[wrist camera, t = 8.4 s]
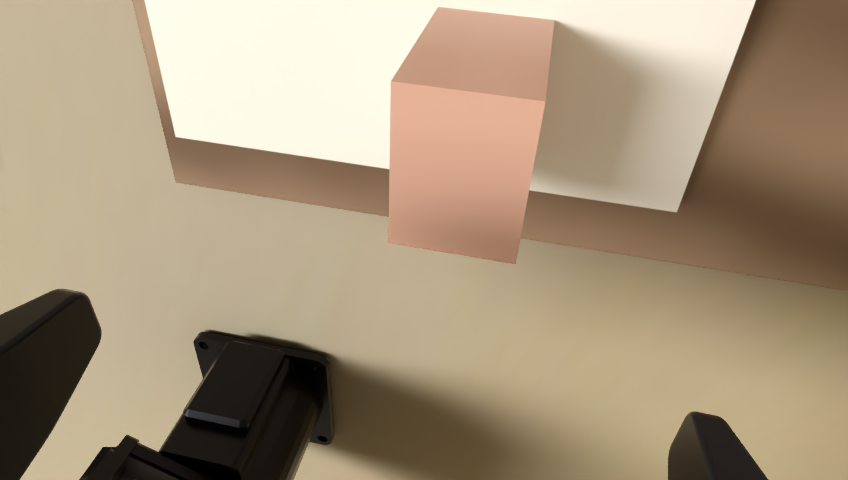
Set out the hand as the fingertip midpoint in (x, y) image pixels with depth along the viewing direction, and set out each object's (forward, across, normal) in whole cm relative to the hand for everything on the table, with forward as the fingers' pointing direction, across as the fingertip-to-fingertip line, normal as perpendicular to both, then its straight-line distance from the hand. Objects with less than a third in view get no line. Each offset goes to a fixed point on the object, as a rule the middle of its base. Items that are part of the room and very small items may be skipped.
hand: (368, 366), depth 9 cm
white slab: (+12, +2, 0) cm, 12 cm away
